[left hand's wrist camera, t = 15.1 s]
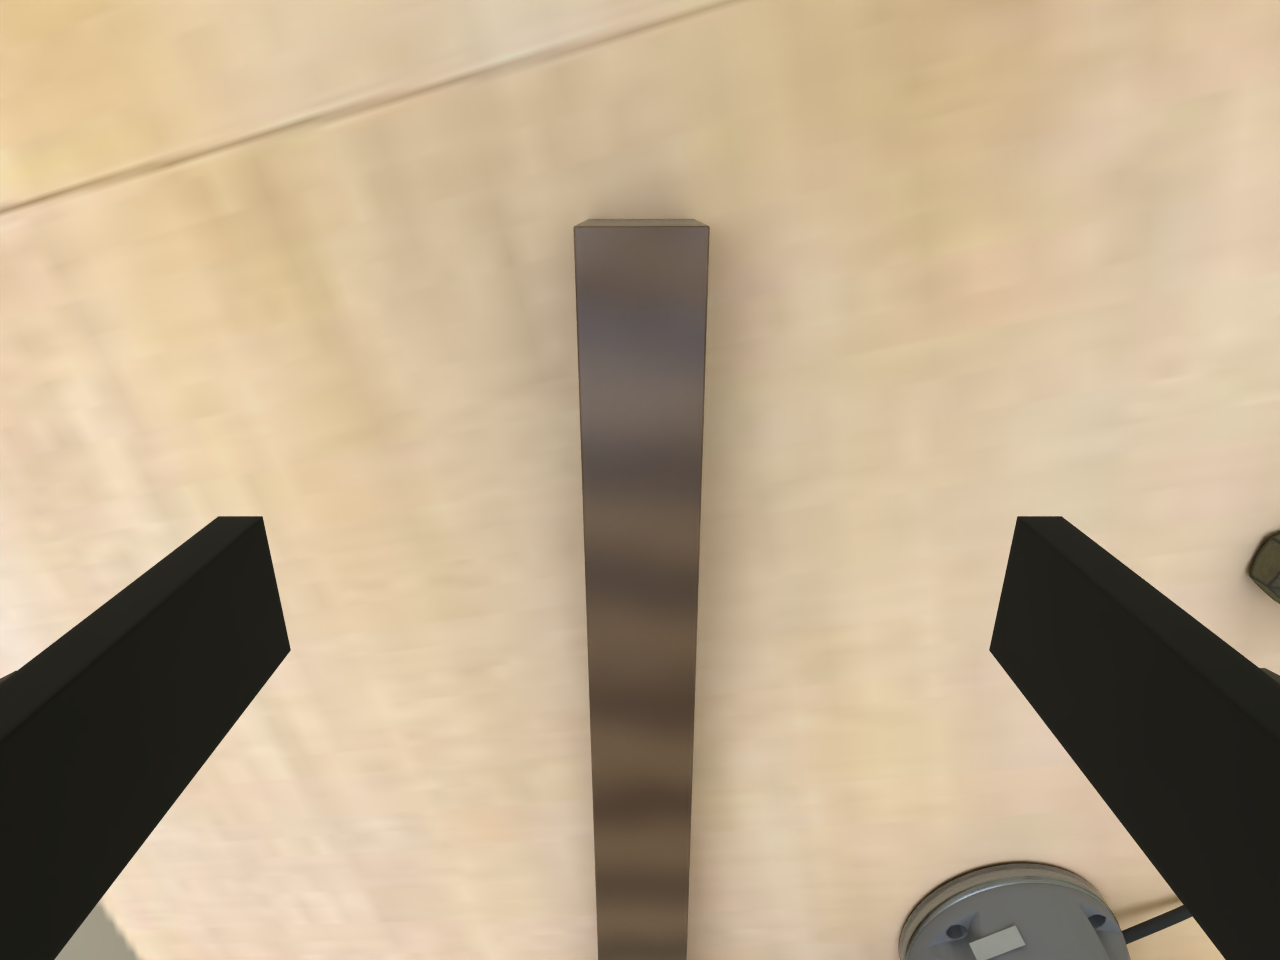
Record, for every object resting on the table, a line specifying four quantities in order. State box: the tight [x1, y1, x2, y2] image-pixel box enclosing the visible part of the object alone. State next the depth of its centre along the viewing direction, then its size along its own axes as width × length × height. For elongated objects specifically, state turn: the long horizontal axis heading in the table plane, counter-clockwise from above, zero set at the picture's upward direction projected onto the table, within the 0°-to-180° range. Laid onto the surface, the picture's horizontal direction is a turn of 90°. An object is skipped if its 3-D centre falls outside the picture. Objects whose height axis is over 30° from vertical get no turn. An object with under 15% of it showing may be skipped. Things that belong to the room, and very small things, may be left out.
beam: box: [574, 219, 710, 960], centre depth 44 cm, size 69×5×8 cm, turn 0°
